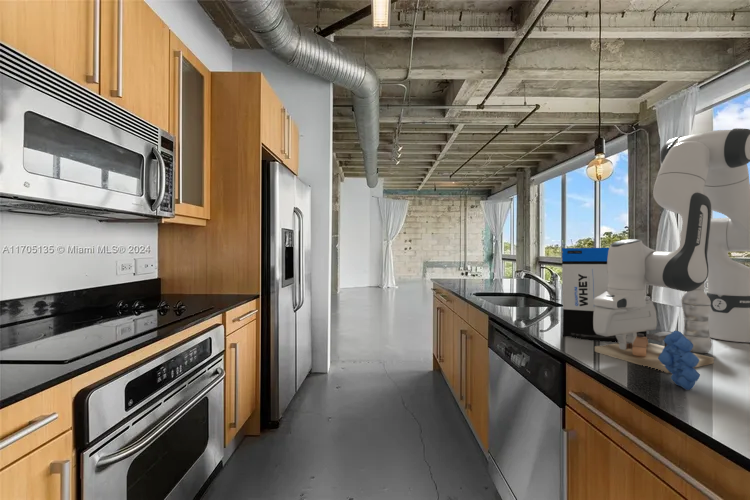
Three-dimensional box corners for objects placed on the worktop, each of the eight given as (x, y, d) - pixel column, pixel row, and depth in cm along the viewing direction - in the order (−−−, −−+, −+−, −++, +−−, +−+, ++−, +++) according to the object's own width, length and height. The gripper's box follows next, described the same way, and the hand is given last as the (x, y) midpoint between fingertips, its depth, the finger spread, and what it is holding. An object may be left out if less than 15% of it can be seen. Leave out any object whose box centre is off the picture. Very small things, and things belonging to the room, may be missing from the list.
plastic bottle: (717, 356, 106) (717, 283, 106) (689, 355, 108) (689, 283, 107) (702, 349, 113) (702, 281, 112) (676, 348, 114) (676, 281, 114)
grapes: (646, 375, 92) (646, 325, 92) (679, 377, 91) (679, 326, 90) (670, 394, 81) (670, 337, 81) (708, 397, 79) (708, 339, 79)
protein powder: (651, 344, 119) (651, 247, 118) (564, 339, 127) (563, 248, 126) (641, 337, 128) (641, 247, 127) (561, 332, 136) (560, 247, 135)
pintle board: (637, 344, 119) (637, 324, 119) (713, 363, 100) (713, 339, 100) (594, 351, 113) (594, 330, 112) (667, 372, 94) (667, 347, 94)
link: (633, 342, 115) (632, 335, 115) (647, 344, 112) (647, 336, 112) (630, 355, 102) (630, 347, 102) (647, 357, 100) (647, 349, 100)
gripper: (641, 294, 112) (641, 342, 113) (588, 299, 105) (588, 350, 105) (663, 297, 106) (663, 347, 107) (609, 302, 99) (610, 356, 100)
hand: (626, 348), depth 106 cm, fingers closed
